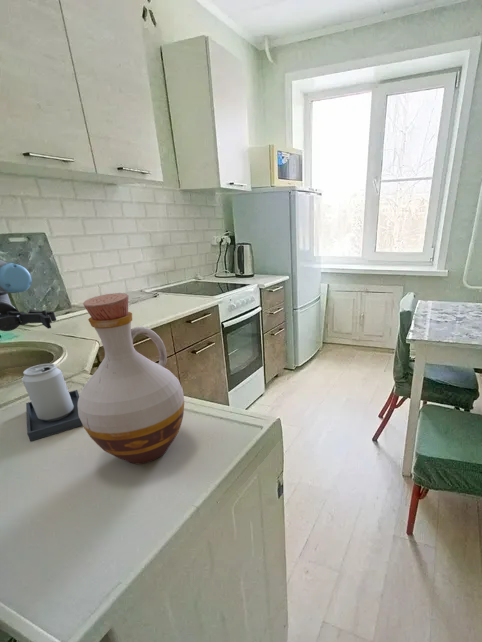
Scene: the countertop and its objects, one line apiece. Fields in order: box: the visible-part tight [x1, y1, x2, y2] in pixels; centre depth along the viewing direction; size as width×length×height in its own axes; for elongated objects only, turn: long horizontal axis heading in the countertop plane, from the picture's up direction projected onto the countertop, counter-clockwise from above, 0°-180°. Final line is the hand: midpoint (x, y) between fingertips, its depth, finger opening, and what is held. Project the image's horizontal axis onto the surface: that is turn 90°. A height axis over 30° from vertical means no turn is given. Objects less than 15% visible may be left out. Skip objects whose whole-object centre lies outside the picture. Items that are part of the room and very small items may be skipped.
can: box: [21, 363, 74, 421], centre depth 81 cm, size 8×8×12 cm
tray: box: [25, 389, 83, 442], centre depth 83 cm, size 17×11×2 cm, turn 35°
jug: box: [78, 292, 185, 465], centre depth 64 cm, size 20×18×30 cm
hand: (15, 329), depth 85 cm, fingers open, 13 cm apart
